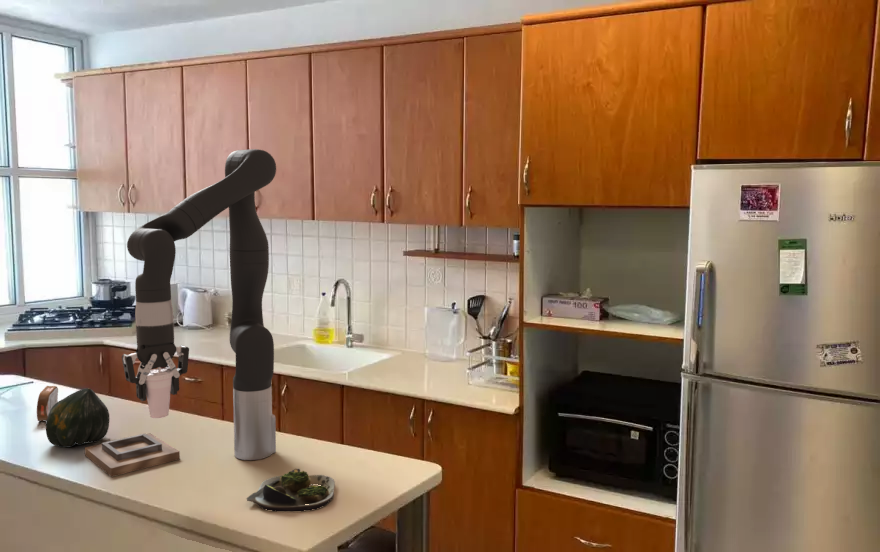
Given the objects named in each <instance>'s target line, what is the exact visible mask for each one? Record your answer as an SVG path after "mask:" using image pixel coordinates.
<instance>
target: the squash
mask: <svg viewBox="0 0 880 552" xmlns="http://www.w3.org/2000/svg"><path fill="white" fill-rule="evenodd" d="M109 427H110V412H109V409H108V407H107V406H106V404H105V403H104V402H103V401H102V400H101V398H100V397H99V396H98V394H97V393H96V392H95V391H94V390H93V389H91V388H90V387H87V388H82V389H79V390H76V391H75V392H73V393H71V394H68V396H66V397H63V399H61V400H59V401H58V402H57V403H56V404H55V405H54V406H53V407H52V408H51V410H50V412H49V415H48V418H47V420H46V421H45V433H46V437H47V441H48V442H49V443H50V444H51V445H53V446H55V447H60V448H61V447H64V448H71V447H74V445H79V446H80V445H83V444H89V443H95V442H99V441H101V440H103V439H104V438H105V436H106V435H107V433H108V432H109V429H110V428H109Z"/></svg>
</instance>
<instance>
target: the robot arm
mask: <svg viewBox="0 0 880 552" xmlns="http://www.w3.org/2000/svg"><path fill="white" fill-rule="evenodd" d="M276 163H277V162H276V160H275V158H274V157H273V156H272V154H271V153H269V152H268V151H267V150H263V149H257V148H255V149H254V148H252V149H251V148H250V149H238V150H234V151H232V152H230V153H229V155H228V156H227V158H226V161H225V163H224V164H225V165H224V176H225V177H224V178H223V179H220V180H219V181H217V182H215V183H213V184H211V185H209V186H207V187H205V188H202V189H200V190H198V191H196V192H194V193H192V194H191V195H188V196H187V197H186V198H184V199H183V200H182V201H180V202H179V203H177V204H176V205H175V206H173V207H172V208H171V209H170V210H168V211H167V212H166V213H164V214H161V215H159V216H158V217H156V218H153V219H151V220H150V221H148V222H146V223H144V224H143V225H141V226H139V227H138V228H136V229H135V230H134V231H132V233H131V234H130V236H129V237H128V239H127V243H126V248H127V251H128V253H129V255H130V256H131V257H132V258H134V259H136V260H138V261H141V262H142V261H143V262H144V263H143V268H142V269H143V270H142V273H141V274H138V275H137V276H136V279H135V281H134V283H135V286H134V287H135V310H134V311H135V312H134V313H135V315H134V316H135V331H136V334H135V335H136V351H135V352H134V353H130V354H126V353H123V354H122V355H121V360H122V366H123V371H124V377H125V380H126V382H129V383H131V384H135V391H136V392H135V393H136V395H135V396H136V397H137V399H139V401H141V402H145V401H147V396H146V384H144V382H145V380H146V378H147V377H146V376H147V375H149V373H150V371H151V370H154V369H158V367H161V368H164V369H167V370H170V371H173V376H172V379H171V391H170V395H173V396H175V395H178V392H179V391H180V376H182V375H184V374H187V373H188V371H189V368H188V367H189V357H190V355H189V353H190V348H189V347H188V346H185V345H182V344H181V345H180V346H176V345H175V327H174V326H175V325H174V321H175V319H174V318H175V316H174V309H173V303H172V290H171V278H172V275H173V271H174V264H175V260H176V254H177V253H176V245H175V244H176V243H175V242H176V241H180V240H184V239H188V238H190V236H192V235H194V234H195V233H196V232H197V231H199V230H200V229H201V228H203V227H204V226H205V225H206V224H208V223H209V222H210V221H212V220H213V219H214V218H216V216H218V215H219V214H221V213H222V212H224V211H225V210H226V209H228V223H229V227H228V228H229V273H230V274H229V275H230V286H231V287H230V288H231V298H232V301H231V302H232V306H231V307H232V308H231V319H230V329H229V344H230V347H231V349H232V351H233V352H234V353H235V373H234V376H233V378H232V396H233V397H232V401H233V403H232V404H233V437H234V438H233V441H234V442H233V443H234V446H233V451H234V457H235V458H236V459H239V460H243V461H254V460H261V459H265V458H269V456H271V455H272V454H275V453H276V451H277V442H276V441H277V439H276V437H277V436H276V435H277V433H276V431H277V430H276V427H277V426H276V415H275V414H273V396H272V394H273V393H272V390H273V389H272V387H273V386H272V382H273V381H272V379H273V376H274V366H275V365H274V363H275V346H274V345H275V343H274V338H273V334H272V333H271V332H270V330H269V329H268V328H266V327H265V325H264V316H263V297H264V292H265V288H266V284H267V280H268V275H269V266H270V262H269V261H270V260H269V259H270V258H269V257H270V256H269V255H270V253H269V250H270V249H269V248H270V247H269V240H268V237H267V234H266V231H265V229H264V227H263V225H262V223H261V221H260V218H259V216H258V212H257V209H256V203H255V199H256V198H255V197H256V196H255V194H256V192H257V191H259V190H261V189H262V188H264V187H266V186H269V184H271V182H272V181H273V180H274V179H275V177H276V174H277V165H276ZM175 354H176V355H177V356H178V358H177V359H178V360H177V366H176V364H175V363H174V360H173V358H174V355H175ZM136 359H137V360H139V361H140V363H139V365H138V368H137V373H135V367H134V364H135V363H136Z"/></svg>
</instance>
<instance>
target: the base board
mask: <svg viewBox="0 0 880 552" xmlns="http://www.w3.org/2000/svg"><path fill="white" fill-rule="evenodd" d="M84 455H85V457H86V458H88V459H89V460H90V461H92V462H93V463H94V464H95V465H96V466H98V467H99V468H100V469H101V470H102V471H103V472H105V473H106V474H107V475H108V476H110V477H115V476H120V475H123V474H128V473H131V472H134V471H138V470H143V469H147V468H150V467H151V468H152V467H155V466H158V465H162V464H166V463H170V462H174V461H178V460H180V459H181V456H180V455H181V452H180V450H178V449H177V448H175V447H173V446H172V445H170V444H169V443H167V442H165V441H164V440H162V439H161V438H159V437H157V436H155V435H154V434H153V433H151V432H149V433H140V434H136V435H132V436H126V437H123V438H118V439H114V440H110V441H105V442H102V443H100V444H95V445H90V446H86V447H84Z"/></svg>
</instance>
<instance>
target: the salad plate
mask: <svg viewBox="0 0 880 552" xmlns="http://www.w3.org/2000/svg"><path fill="white" fill-rule="evenodd" d="M335 482H336V481H335V479H333V477H331V476H328V475H326V474H325V475H324V474H310V475H309V474H308V472H307V471H304V470H302V471H301V469H300V468H294V469H292V470H291V471H289V472H287V473H284V474H283V475H277V476H273V477H270V478H267V479H265V480H263V481H262V483H260V485H259V488H258V490H257V491H256V492H253V493H252V494H250V495H249V496H248V497H246V502H252V504H255V505H257V507H259V508H261V509H262V508H263V509H262V510H265V509H267V510H266V511H268V510H272V511H271V512H277V511H301V512H305V511H304V510H310V511H313V510H312V509H315V510H317V508H319V509H321V508H320V507H322V506H324V507H326V506H327V505H328V504H329V503H330V502H331V501H332V500H333V499H334V496H335V486H336V485H335ZM311 484H318V485H321V486H317V485H311ZM309 485H310V486H309ZM305 504H309V505H305ZM322 508H323V507H322Z"/></svg>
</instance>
